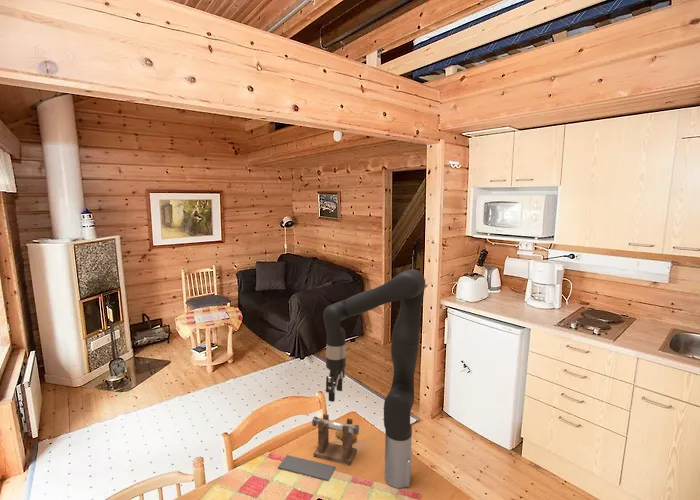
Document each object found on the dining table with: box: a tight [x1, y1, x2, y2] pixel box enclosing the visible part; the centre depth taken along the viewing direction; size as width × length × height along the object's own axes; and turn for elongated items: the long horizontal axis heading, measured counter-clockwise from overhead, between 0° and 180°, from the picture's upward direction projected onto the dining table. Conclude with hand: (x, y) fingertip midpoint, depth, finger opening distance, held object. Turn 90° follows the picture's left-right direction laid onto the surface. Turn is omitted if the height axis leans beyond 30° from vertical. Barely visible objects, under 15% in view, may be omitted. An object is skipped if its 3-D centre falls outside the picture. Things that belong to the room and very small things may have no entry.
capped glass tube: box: [311, 416, 360, 436], centre depth 138 cm, size 18×3×3 cm, turn 72°
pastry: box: [335, 430, 358, 444], centre depth 150 cm, size 9×7×4 cm
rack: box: [313, 413, 358, 466], centre depth 138 cm, size 15×8×14 cm, turn 72°
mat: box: [277, 454, 336, 482], centre depth 131 cm, size 20×7×1 cm, turn 72°
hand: (335, 395), depth 136 cm, fingers open, 8 cm apart
